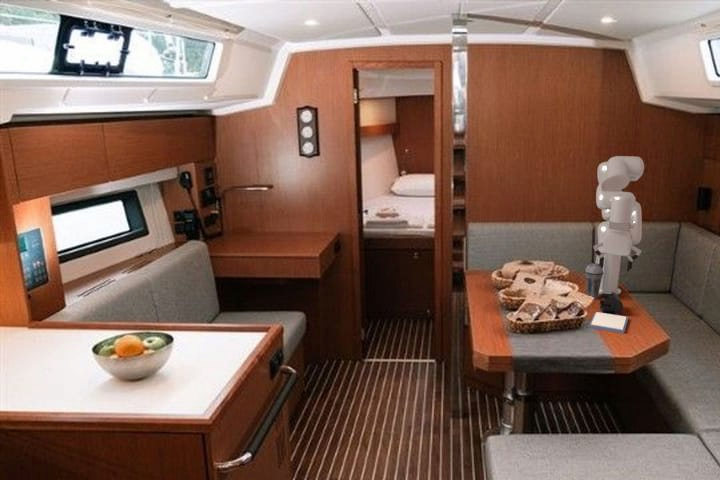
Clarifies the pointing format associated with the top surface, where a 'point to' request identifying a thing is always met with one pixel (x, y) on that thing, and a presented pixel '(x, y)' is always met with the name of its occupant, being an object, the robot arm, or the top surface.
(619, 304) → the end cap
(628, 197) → the robot arm
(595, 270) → the beverage cup
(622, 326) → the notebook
